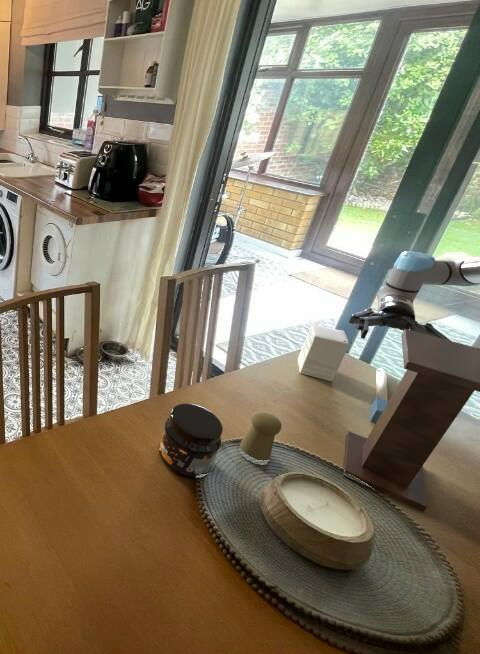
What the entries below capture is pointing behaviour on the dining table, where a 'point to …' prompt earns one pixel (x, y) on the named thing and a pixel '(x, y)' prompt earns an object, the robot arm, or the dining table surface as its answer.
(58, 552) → the dining table surface
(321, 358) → the white packaging box
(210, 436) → the supplement container
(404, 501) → the stand
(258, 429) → the cork
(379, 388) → the bottle brush
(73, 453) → the dining table surface
